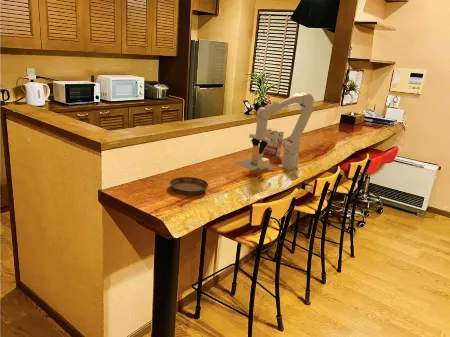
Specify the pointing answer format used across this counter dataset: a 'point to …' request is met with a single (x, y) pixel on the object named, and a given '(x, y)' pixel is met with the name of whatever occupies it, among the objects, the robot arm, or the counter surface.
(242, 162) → the rubber mat
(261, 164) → the cream block
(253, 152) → the mustard block
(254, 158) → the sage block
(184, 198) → the counter surface
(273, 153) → the candy bar box
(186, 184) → the plant saucer
